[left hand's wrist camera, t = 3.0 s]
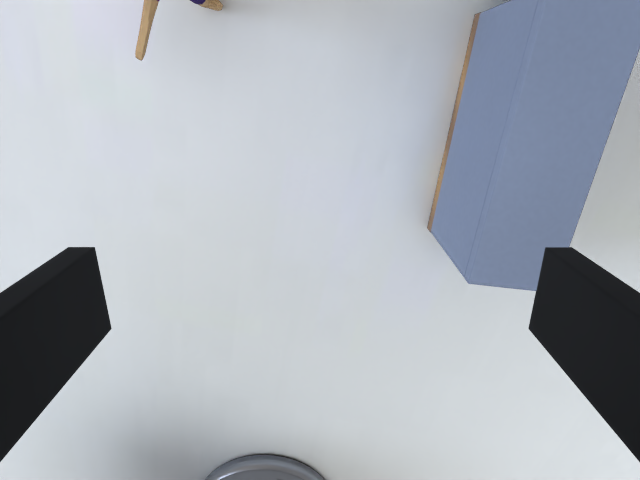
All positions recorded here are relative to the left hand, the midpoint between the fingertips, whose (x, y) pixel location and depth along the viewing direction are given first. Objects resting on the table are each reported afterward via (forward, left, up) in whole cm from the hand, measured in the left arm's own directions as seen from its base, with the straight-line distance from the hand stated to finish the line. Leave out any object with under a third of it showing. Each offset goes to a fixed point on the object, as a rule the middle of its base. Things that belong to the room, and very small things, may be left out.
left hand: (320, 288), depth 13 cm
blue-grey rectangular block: (-2, -13, -23) cm, 26 cm away
